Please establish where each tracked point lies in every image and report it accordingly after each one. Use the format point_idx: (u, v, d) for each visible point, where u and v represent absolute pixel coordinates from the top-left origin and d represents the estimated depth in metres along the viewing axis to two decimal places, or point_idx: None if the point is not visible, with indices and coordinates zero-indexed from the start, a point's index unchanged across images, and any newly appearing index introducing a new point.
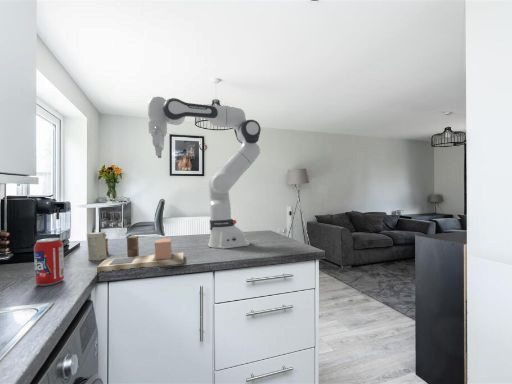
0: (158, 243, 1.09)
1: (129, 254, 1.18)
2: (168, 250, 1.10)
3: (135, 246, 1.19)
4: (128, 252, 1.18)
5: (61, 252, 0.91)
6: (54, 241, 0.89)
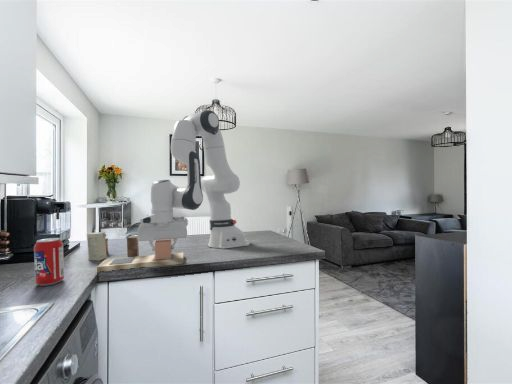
0: (158, 243, 1.09)
1: (129, 254, 1.18)
2: (168, 250, 1.10)
3: (135, 246, 1.19)
4: (128, 252, 1.18)
5: (61, 252, 0.91)
6: (54, 241, 0.89)
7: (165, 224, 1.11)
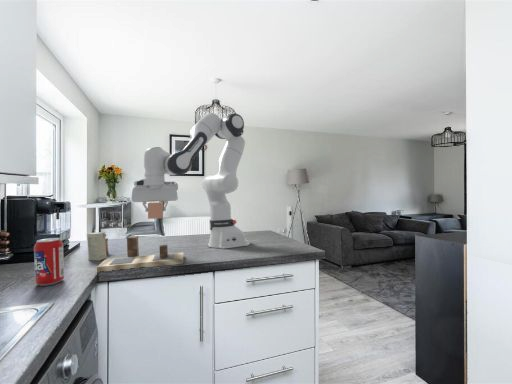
0: (151, 204, 1.20)
1: (129, 254, 1.18)
2: (160, 210, 1.21)
3: (135, 246, 1.19)
4: (128, 252, 1.18)
5: (61, 252, 0.91)
6: (54, 241, 0.89)
7: (157, 187, 1.22)
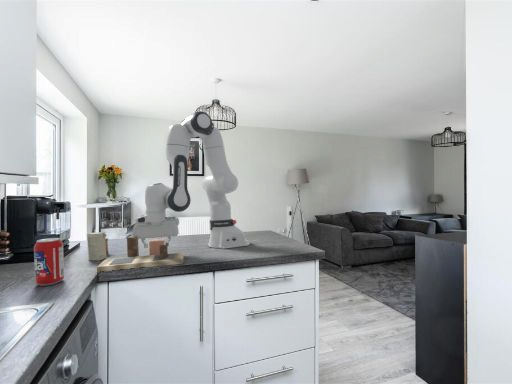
0: (152, 243, 1.21)
1: (129, 254, 1.18)
2: None
3: (135, 246, 1.19)
4: (128, 252, 1.18)
5: (61, 252, 0.91)
6: (54, 241, 0.89)
7: (158, 223, 1.23)
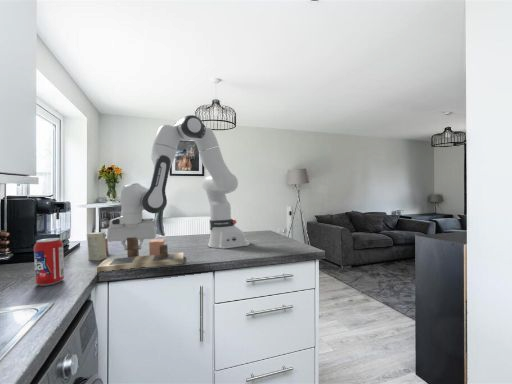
0: (152, 243, 1.21)
1: (129, 254, 1.18)
2: None
3: (135, 246, 1.19)
4: (128, 252, 1.18)
5: (61, 252, 0.91)
6: (54, 241, 0.89)
7: (134, 225, 1.18)
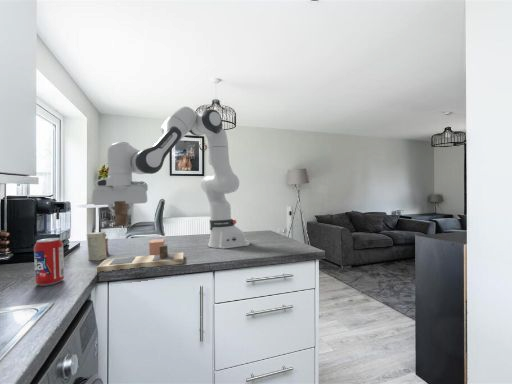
0: (152, 243, 1.21)
1: (117, 220, 1.07)
2: None
3: (124, 211, 1.08)
4: (116, 217, 1.07)
5: (61, 252, 0.91)
6: (54, 241, 0.89)
7: (122, 188, 1.07)
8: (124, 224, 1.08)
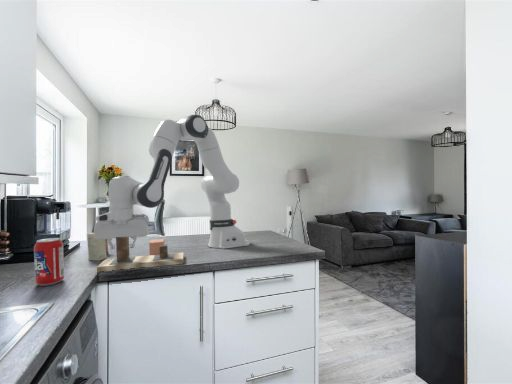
0: (152, 243, 1.21)
1: (119, 256, 1.07)
2: None
3: (125, 246, 1.08)
4: (117, 253, 1.07)
5: (61, 252, 0.91)
6: (54, 241, 0.89)
7: (123, 222, 1.07)
8: (125, 260, 1.08)
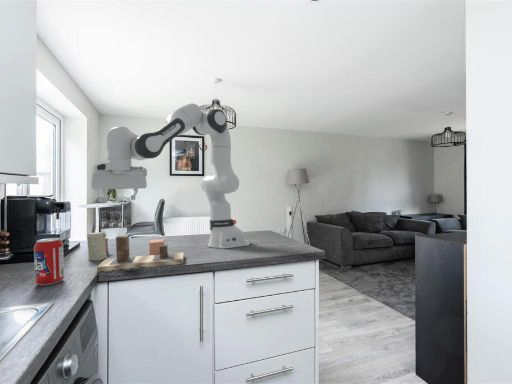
0: (152, 243, 1.21)
1: (119, 256, 1.07)
2: None
3: (125, 246, 1.08)
4: (117, 253, 1.07)
5: (61, 252, 0.91)
6: (54, 241, 0.89)
7: (121, 172, 1.07)
8: (125, 260, 1.08)
